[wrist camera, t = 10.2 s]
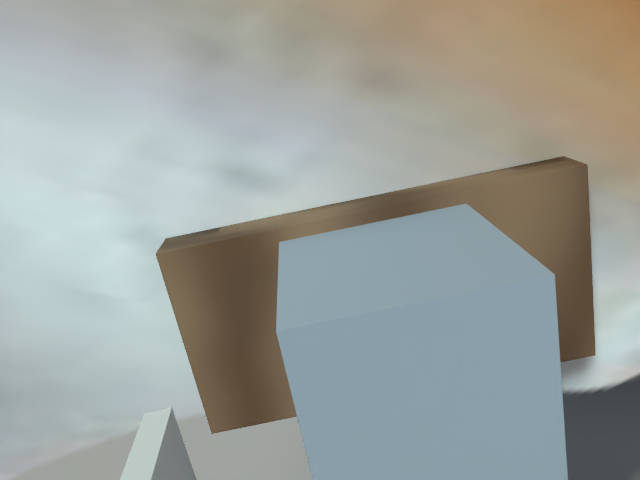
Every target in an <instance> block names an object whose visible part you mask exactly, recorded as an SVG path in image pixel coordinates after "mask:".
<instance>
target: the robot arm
mask: <svg viewBox="0 0 640 480" xmlns="http://www.w3.org/2000/svg"><path fill="white" fill-rule="evenodd" d="M120 480H196V477H195V474H194V472H193V469H192V465H191V463H190V460H189V457H188V454H187V451H186V448H185V445H184V442H183V439H182V436H181V433H180V430H179V427H178V424H177V421H176V419H175V416H174V413H173V410H172V407H171V408H167V409H162V410H157V411H153V412H148V413H144V415H143V418H142V420H141V423H140V426H139V429H138V431H137V434H136V437H135V440H134V443H133V445H132V448H131V451H130V454H129V456H128V460H127V462H126V465H125V468H124V470H123V473H122V476H121V479H120Z"/></svg>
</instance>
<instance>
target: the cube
mask: <svg viewBox="0 0 640 480" xmlns="http://www.w3.org/2000/svg"><path fill="white" fill-rule="evenodd" d="M276 333H277V337H278V341H279V345H280V349H281V354H282V358H283V362H284V366H285V370H286V374H287V378H288V382H289V386H290V390H291V394H292V398H293V402H294V406H295V410H296V414H297V418H298V422H299V426H300V430H301V433H302V438H303V442H304V446H305V450H306V454H307V458H308V462H309V466H310V470H311V474H312V478H313V480H568V474H567V460H566V444H565V427H564V412H563V396H562V380H561V365H560V349H559V334H558V318H557V302H556V287H555V274H554V273H552V272H551V271H550V270H549V269H547V268H546V267H545V266H544V265H542V264H541V263H540V262H539V261H538V260H536V259H535V258H534V257H533V256H531V255H530V254H529V253H528V252H526V251H525V250H524V249H523V248H521V247H520V246H519V245H518V244H516V243H515V242H514V241H513V240H511V239H510V238H509V237H508V236H506V235H505V234H504V233H503V232H501V231H500V230H499V229H498V228H496V227H495V226H494V225H493V224H491V223H490V222H489V221H488V220H486V219H485V218H484V217H483V216H481V215H480V214H479V213H478V212H476V211H475V210H474V209H473V208H471V207H470V206H469V205H468V204H462V205H457V206H452V207H447V208H442V209H437V210H433V211H428V212H423V213H418V214H413V215H408V216H403V217H399V218H394V219H389V220H384V221H379V222H374V223H369V224H364V225H360V226H355V227H350V228H345V229H340V230H335V231H330V232H326V233H321V234H316V235H311V236H306V237H301V238H296V239H291V240H287V241H282V242H279V259H278V288H277V317H276Z"/></svg>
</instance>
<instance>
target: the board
mask: <svg viewBox="0 0 640 480" xmlns="http://www.w3.org/2000/svg"><path fill="white" fill-rule="evenodd" d="M462 204H468V205H469V206H470V207H471V208H473V209H474V210H475V211H476V212H478V213H479V214H480V215H481V216H483V217H484V218H485V219H486V220H488V221H489V222H490V223H491V224H493V225H494V226H495V227H496V228H498V229H499V230H500V231H501V232H503V233H504V234H505V235H506V236H508V237H509V238H510V239H511V240H513V241H514V242H515V243H516V244H518V245H519V246H520V247H521V248H523V249H524V250H525V251H526V252H528V253H529V254H530V255H531V256H533V257H534V258H535V259H536V260H538V261H539V262H540V263H541V264H542V265H544V266H545V267H546V268H547V269H549V270H550V271H551V272H552V273H554V274H555V287H556V302H557V318H558V334H559V349H560V362H564V361H569V360H574V359H579V358H584V357H589V356H594V355H595V335H594V311H593V287H592V263H591V239H590V215H589V191H588V167H587V164H584V163H581V162H578V161H575V160H573V159H570V158H567V157H564V156H563V157H558V158H554V159H549V160H544V161H539V162H534V163H529V164H525V165H520V166H515V167H510V168H505V169H500V170H496V171H491V172H486V173H481V174H476V175H471V176H467V177H462V178H457V179H452V180H447V181H442V182H438V183H433V184H428V185H423V186H418V187H413V188H409V189H404V190H399V191H394V192H389V193H384V194H380V195H375V196H370V197H365V198H360V199H355V200H351V201H346V202H341V203H336V204H331V205H326V206H321V207H317V208H312V209H307V210H302V211H297V212H292V213H288V214H283V215H278V216H273V217H268V218H263V219H259V220H254V221H249V222H244V223H239V224H234V225H230V226H225V227H220V228H215V229H210V230H205V231H201V232H196V233H191V234H186V235H181V236H176V237H172V238H167V239H165V241H164V242H163V244H162V245H161V247H160V248H159V250H158V251H157V253H156V256H157V259H158V263H159V266H160V269H161V272H162V275H163V279H164V282H165V285H166V288H167V291H168V295H169V298H170V301H171V304H172V307H173V311H174V314H175V317H176V320H177V324H178V327H179V330H180V333H181V336H182V340H183V343H184V346H185V349H186V352H187V356H188V359H189V362H190V365H191V368H192V372H193V375H194V378H195V381H196V384H197V388H198V391H199V394H200V397H201V400H202V404H203V407H204V410H205V413H206V416H207V420H208V423H209V426H210V429H211V432H212V434H213V433H218V432H223V431H227V430H232V429H237V428H242V427H247V426H252V425H257V424H262V423H267V422H271V421H276V420H281V419H286V418H291V417H296V416H297V414H296V410H295V406H294V402H293V398H292V394H291V390H290V386H289V382H288V378H287V374H286V370H285V366H284V362H283V358H282V354H281V349H280V345H279V341H278V337H277V333H276V317H277V288H278V259H279V242H282V241H287V240H291V239H296V238H301V237H306V236H311V235H316V234H321V233H326V232H330V231H335V230H340V229H345V228H350V227H355V226H360V225H364V224H369V223H374V222H379V221H384V220H389V219H394V218H399V217H403V216H408V215H413V214H418V213H423V212H428V211H433V210H437V209H442V208H447V207H452V206H457V205H462Z"/></svg>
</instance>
